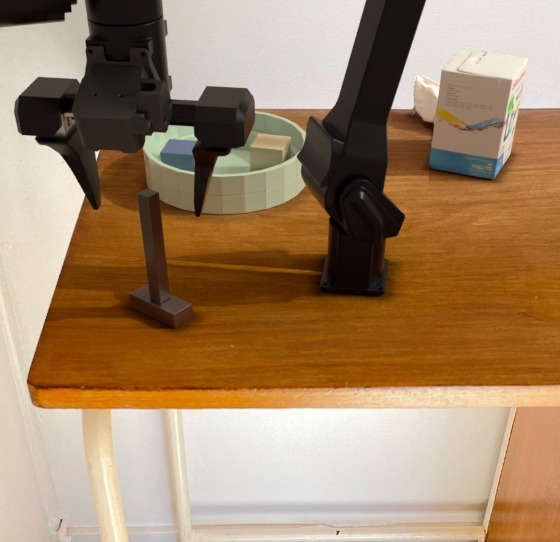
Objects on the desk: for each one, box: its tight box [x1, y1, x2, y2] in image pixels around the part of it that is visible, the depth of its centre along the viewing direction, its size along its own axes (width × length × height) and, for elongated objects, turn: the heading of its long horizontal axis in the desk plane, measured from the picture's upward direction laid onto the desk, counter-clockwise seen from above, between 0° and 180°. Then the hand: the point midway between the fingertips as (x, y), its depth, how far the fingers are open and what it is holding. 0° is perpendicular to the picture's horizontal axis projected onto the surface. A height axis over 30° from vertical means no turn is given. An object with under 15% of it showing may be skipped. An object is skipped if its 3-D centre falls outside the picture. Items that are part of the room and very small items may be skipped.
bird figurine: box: [411, 74, 440, 124], centre depth 113 cm, size 5×7×10 cm
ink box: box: [428, 48, 529, 180], centre depth 102 cm, size 8×8×12 cm
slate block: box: [160, 139, 197, 172], centre depth 100 cm, size 4×4×4 cm
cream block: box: [250, 134, 291, 172], centre depth 101 cm, size 4×4×4 cm
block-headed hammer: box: [128, 187, 194, 329], centre depth 78 cm, size 6×2×12 cm, turn 51°
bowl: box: [142, 110, 307, 215], centre depth 101 cm, size 19×19×5 cm
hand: (147, 211), depth 75 cm, fingers open, 9 cm apart
